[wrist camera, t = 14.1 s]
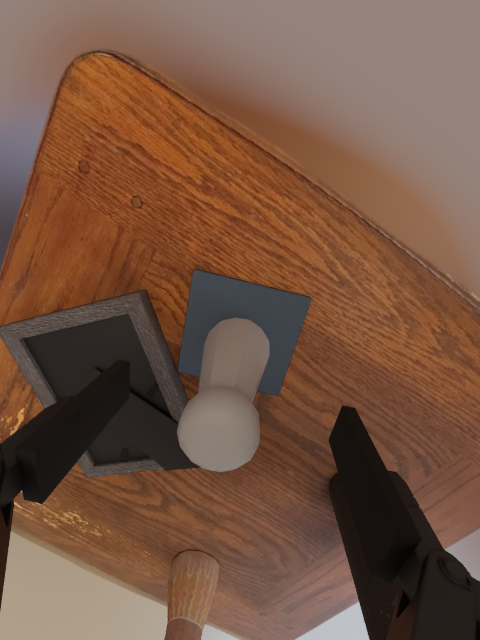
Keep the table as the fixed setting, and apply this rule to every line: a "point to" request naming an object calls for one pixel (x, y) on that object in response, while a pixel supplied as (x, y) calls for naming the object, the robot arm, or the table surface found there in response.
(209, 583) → the vase
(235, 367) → the salt shaker
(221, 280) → the mat
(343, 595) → the table surface
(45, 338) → the picture frame
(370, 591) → the container
